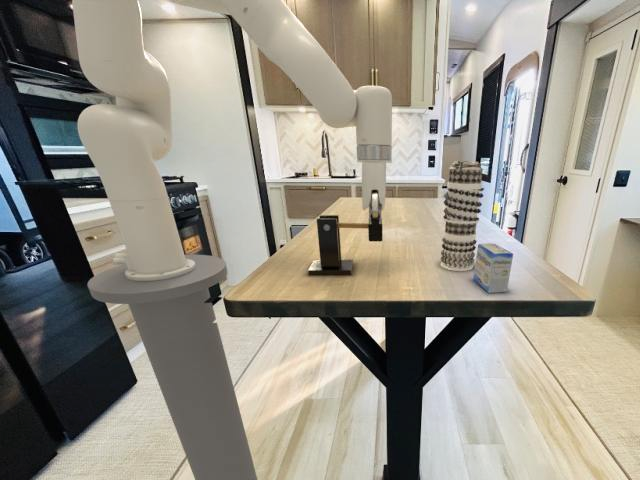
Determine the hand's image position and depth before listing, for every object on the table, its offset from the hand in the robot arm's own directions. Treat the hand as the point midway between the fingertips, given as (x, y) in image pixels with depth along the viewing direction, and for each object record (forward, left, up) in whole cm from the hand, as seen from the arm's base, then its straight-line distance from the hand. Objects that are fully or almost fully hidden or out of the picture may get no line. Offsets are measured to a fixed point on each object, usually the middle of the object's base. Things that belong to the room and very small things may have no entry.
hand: (375, 237), depth 77 cm
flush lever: (-6, 0, +2) cm, 6 cm away
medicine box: (+25, -12, -8) cm, 29 cm away
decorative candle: (+21, +2, -8) cm, 23 cm away
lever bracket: (-11, 0, -8) cm, 14 cm away
